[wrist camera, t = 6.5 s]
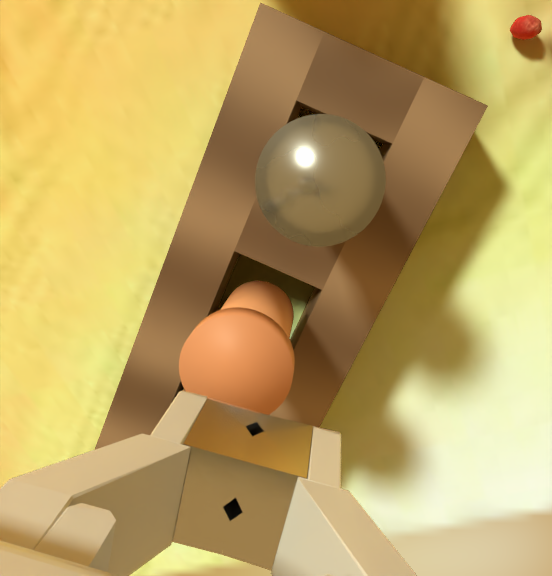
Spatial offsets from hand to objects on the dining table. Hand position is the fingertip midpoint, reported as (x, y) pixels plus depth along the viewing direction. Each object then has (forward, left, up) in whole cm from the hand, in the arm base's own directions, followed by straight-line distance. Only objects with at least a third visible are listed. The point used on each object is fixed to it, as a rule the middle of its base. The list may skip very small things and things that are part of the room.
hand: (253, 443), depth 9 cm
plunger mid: (-3, +1, -14) cm, 15 cm away
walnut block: (-3, +1, -18) cm, 19 cm away
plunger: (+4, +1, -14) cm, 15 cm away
